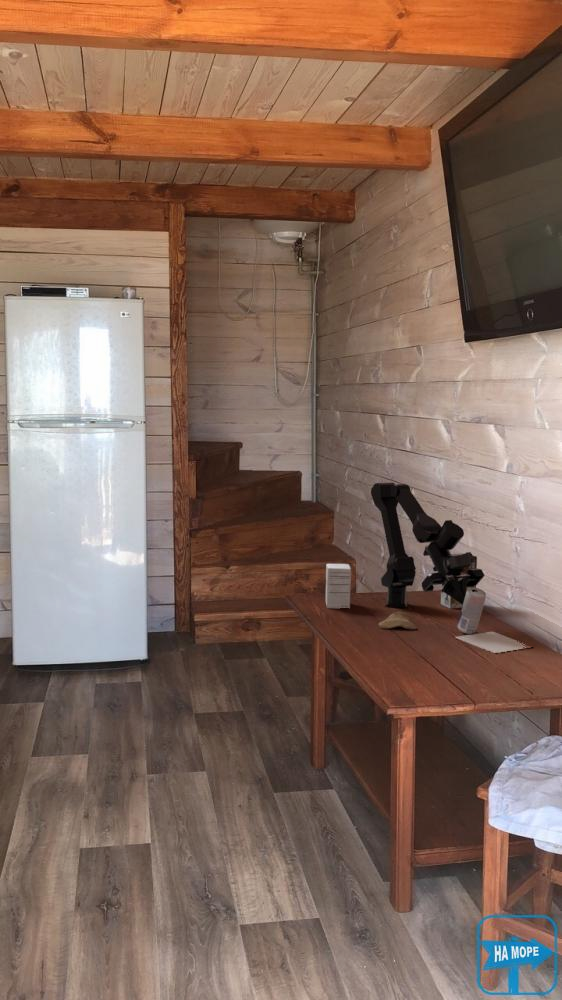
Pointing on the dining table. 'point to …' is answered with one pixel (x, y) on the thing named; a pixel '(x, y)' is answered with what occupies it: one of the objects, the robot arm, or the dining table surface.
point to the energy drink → (471, 610)
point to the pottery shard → (398, 621)
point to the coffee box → (451, 602)
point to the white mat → (492, 642)
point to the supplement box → (338, 585)
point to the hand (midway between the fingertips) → (465, 605)
